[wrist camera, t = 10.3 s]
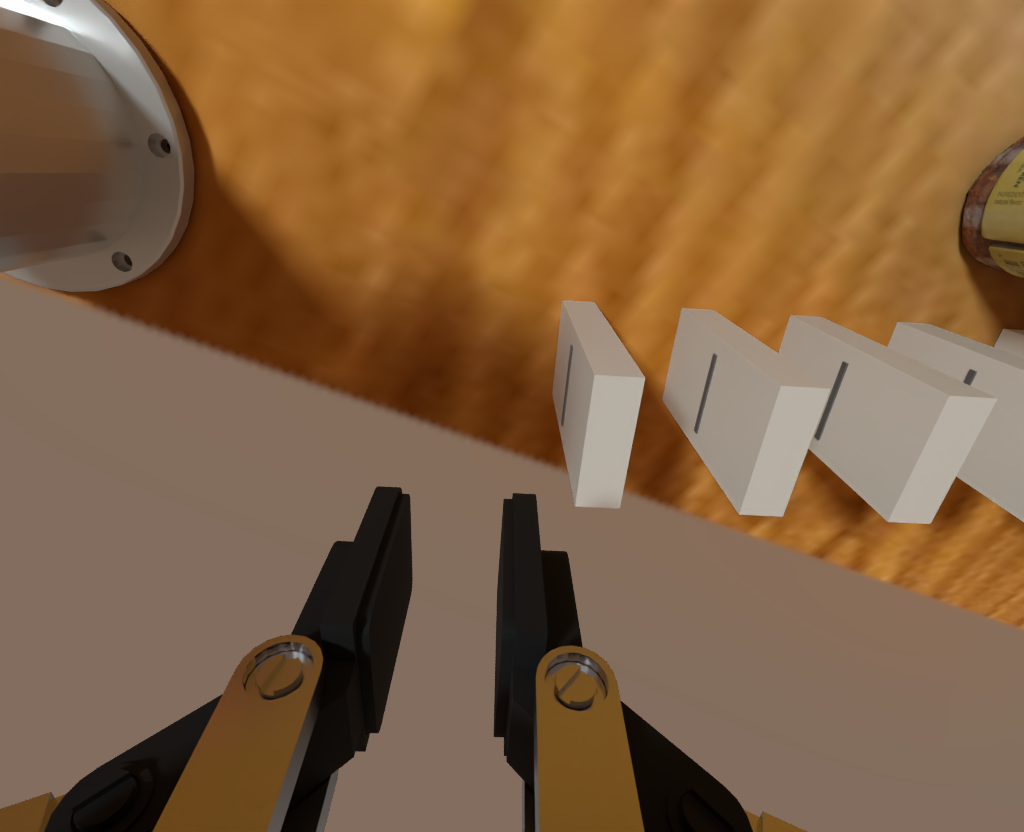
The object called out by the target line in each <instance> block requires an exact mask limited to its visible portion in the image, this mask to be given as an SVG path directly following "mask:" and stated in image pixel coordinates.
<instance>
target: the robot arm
mask: <svg viewBox="0 0 1024 832" xmlns="http://www.w3.org/2000/svg"><path fill="white" fill-rule="evenodd" d="M167 142H169V145H170V151H169V149H168V147H167ZM194 173H195V171H194V164H193V158H192V151H191V144H190V139H189V136H188V132H187V129H186V126H185V123H184V120H183V117H182V113H181V110H180V107H179V105H178V103H177V101H176V99H175V97H174V95H173V93H172V91H171V88H170V86H169V84H168V82H167V80H166V78H165V76H164V74H163V72H162V71H161V69H160V68H159V66H158V65H157V63H156V62H155V60H154V59H153V57H152V56H151V54H150V53H149V51H148V50H147V48H146V47H145V45H144V44H143V42H142V41H141V40H140V38H139V37H138V36H137V35H136V34H135V33H134V32H133V31H132V29H131V28H130V27H129V26H128V25H127V24H126V23H125V22H124V20H123V19H122V18H121V17H120V16H119V15H118V14H117V12H116V11H115V10H114V9H113V8H111V7H110V6H109V5H108V4H107V3H106V2H104V1H103V0H0V273H1V272H3V273H5V274H7V275H9V276H11V277H13V278H15V279H18V280H21V281H24V282H28V283H31V284H34V285H37V286H40V287H43V288H49V289H56V290H62V291H69V292H84V291H100V290H104V289H108V288H112V287H116V286H120V285H123V284H126V283H129V282H132V281H134V280H137V279H140V278H142V277H144V276H146V275H147V274H148V273H150V272H151V271H153V270H154V269H156V268H157V267H159V266H160V265H162V264H163V262H164V261H165V260H166V259H167V258H168V257H169V255H170V254H171V253H172V252H173V251H174V250H175V249H176V247H177V246H178V244H179V242H180V240H181V238H182V236H183V234H184V232H185V230H186V228H187V226H188V221H189V217H190V213H191V209H192V205H193V201H194ZM500 546H501V547H500V559H499V573H498V574H499V575H498V589H497V622H496V664H495V665H496V667H495V705H494V737H504V756H507V763H509V765H510V766H511V767H512V768H513V769H514V770H515V771H516V772H517V773H518V775H519V776H520V777H521V778H522V779H523V782H522V832H807V831H805V830H803V829H800V828H798V827H796V826H794V825H792V824H789V823H787V822H785V821H783V820H781V819H778V818H776V817H774V816H772V815H770V814H767V813H765V812H762V814H761V816H760V817H758V816H756V815H754V814H752V813H750V812H748V811H745V810H744V809H743V808H742V806H741V805H740V803H739V802H738V800H737V799H736V798H735V797H734V796H733V795H732V794H731V793H730V792H729V791H728V790H727V789H726V788H725V787H724V786H723V785H722V784H721V783H720V782H719V781H717V780H716V779H715V778H714V777H713V776H711V775H710V774H709V773H708V772H706V771H705V770H704V769H703V768H702V767H700V766H699V765H698V764H697V763H696V762H694V761H693V760H692V759H691V758H689V757H688V756H687V755H686V754H685V753H683V752H682V751H681V750H680V749H678V748H677V747H676V746H675V745H674V744H673V743H671V742H670V741H669V740H668V739H667V738H665V737H664V736H663V735H662V734H660V733H659V732H658V731H657V730H656V729H654V728H653V727H652V726H651V725H650V724H648V723H647V722H646V721H645V720H643V719H642V718H641V717H640V716H638V715H637V714H636V713H635V712H634V711H632V710H631V709H630V708H629V707H628V706H627V705H625V704H624V703H623V702H622V701H620V696H619V690H618V685H617V681H616V678H615V676H614V672H613V671H612V669H611V668H610V666H609V665H608V664H607V662H606V661H605V660H604V659H602V658H601V657H600V656H599V655H598V654H596V653H594V652H592V651H590V650H588V649H586V648H583V647H582V641H581V634H580V628H579V622H578V616H577V609H576V603H575V596H574V590H573V584H572V577H571V571H570V564H569V558H568V554H567V552H565V551H544V550H541V547H540V535H539V524H538V513H537V501H536V495H535V494H518V493H517V494H516V493H513V498H512V499H504V504H503V518H502V532H501V545H500ZM411 591H412V549H411V513H410V496H409V494H402V490H401V488H398V487H377V488H376V489H375V491H374V494H373V496H372V498H371V501H370V503H369V506H368V509H367V510H366V513H365V515H364V518H363V520H362V523H361V525H360V527H359V530H358V532H357V535H356V537H355V539H354V542H347V541H337V542H335V543H334V545H333V546H332V548H331V550H330V552H329V554H328V557H327V559H326V561H325V563H324V565H323V567H322V569H321V572H320V574H319V576H318V578H317V580H316V582H315V584H314V587H313V589H312V591H311V593H310V595H309V597H308V599H307V602H306V604H305V606H304V608H303V610H302V613H301V614H300V617H299V619H298V621H297V623H296V625H295V627H294V630H293V632H292V634H291V635H286V636H280V637H276V638H273V639H271V640H267V641H266V642H264V643H262V644H261V645H259V646H257V647H255V648H254V649H253V650H252V651H251V652H249V654H247V655H246V656H245V657H244V658H243V659H242V661H241V662H240V664H239V665H238V667H237V668H236V670H235V672H234V674H233V675H232V677H231V679H230V681H229V683H228V685H227V687H226V690H225V691H224V693H223V694H222V695H220V696H219V697H217V698H215V699H214V700H212V701H210V702H209V703H207V704H205V705H203V706H202V707H200V708H198V709H197V710H195V711H193V712H192V713H190V714H188V715H187V716H185V717H183V718H181V719H180V720H178V721H176V722H175V723H173V724H171V725H170V726H168V727H166V728H165V729H163V730H161V731H160V732H158V733H156V734H154V735H153V736H151V737H149V738H148V739H146V740H144V741H142V742H141V743H139V744H138V745H136V746H134V747H132V748H131V749H129V750H127V751H126V752H124V753H122V754H121V755H119V756H117V757H115V758H114V759H112V760H110V761H109V762H107V763H105V764H104V765H102V766H100V767H99V768H97V769H96V770H94V771H93V772H91V773H90V774H88V775H87V776H86V777H84V778H83V779H81V780H80V781H79V782H78V783H77V784H76V785H75V786H74V787H73V788H72V789H71V790H70V791H69V792H68V793H67V794H65V795H63V796H60V797H57V798H54V796H53V794H52V793H51V792H50V793H47V794H43V795H40V796H37V797H35V798H32V799H29V800H26V801H23V802H20V803H17V804H14V805H11V806H8V807H5V808H2V809H0V832H324V830H325V826H326V822H327V818H328V813H329V810H330V806H331V802H332V798H333V794H334V790H335V786H336V782H337V778H338V769H339V768H340V767H342V766H343V765H344V764H345V763H347V762H348V761H349V760H350V759H352V758H353V757H354V754H355V751H366V746H367V743H368V739H369V734H370V733H379V731H380V727H381V724H382V719H383V714H384V711H385V706H386V702H387V697H388V693H389V688H390V684H391V680H392V676H393V671H394V667H395V662H396V658H397V654H398V649H399V645H400V641H401V636H402V632H403V627H404V623H405V619H406V614H407V610H408V605H409V601H410V596H411Z"/></svg>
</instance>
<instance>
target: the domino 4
mask: <svg viewBox="0 0 1024 832" xmlns="http://www.w3.org/2000/svg"><path fill="white" fill-rule="evenodd" d="M887 347H888V348H890V349H892V350H894V351H896V352H899V353H901V354H903V355H905V356H907V357H909V358H911V359H914V360H916V361H918V362H920V363H922V364H924V365H927V366H929V367H931V368H933V369H935V370H937V371H939V372H942V373H944V374H946V375H948V376H950V377H952V378H955V379H957V380H959V381H961V382H963V383H965V384H968V385H970V386H972V387H974V388H976V389H978V390H980V391H983V392H985V393H987V394H989V395H991V396H993V397H996V398H998V399H997V401H996V403H995V405H994V407H993V409H992V410H991V412H990V414H989V416H988V418H987V420H986V422H985V423H984V425H983V427H982V429H981V431H980V433H979V435H978V437H977V438H976V440H975V442H974V444H973V446H972V448H971V450H970V451H969V453H968V455H967V457H966V459H965V461H964V463H963V464H962V466H961V468H960V470H959V472H958V474H957V476H956V477H958V478H959V479H961V480H962V481H964V482H965V483H967V484H968V485H970V486H971V487H972V488H974V489H975V490H977V491H978V492H980V493H981V494H983V495H984V496H986V497H987V498H989V499H990V500H992V501H993V502H995V503H996V504H997V505H999V506H1000V507H1002V508H1003V509H1005V510H1006V511H1008V512H1009V513H1011V514H1012V515H1014V516H1015V517H1017V518H1018V519H1019V520H1021V521H1022V522H1024V358H1021V357H1019V356H1016V355H1013V354H1010V353H1008V352H1005V351H1002V350H999V349H997V348H994V347H991V346H988V345H986V344H983V343H980V342H977V341H974V340H972V339H969V338H966V337H963V336H961V335H958V334H955V333H952V332H950V331H947V330H944V329H941V328H939V327H936V326H933V325H930V324H924V323H908V322H897V325H896V327H895V329H894V332H893V334H892V337H891V339H890V342H889V344H888V346H887Z"/></svg>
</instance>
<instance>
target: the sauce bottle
mask: <svg viewBox="0 0 1024 832" xmlns="http://www.w3.org/2000/svg"><path fill="white" fill-rule="evenodd" d="M962 237H963V243H964V245H965V247H966V249H967V250H968V252H969V253H970V255H972V256H973V257H974V258H975V260H978V261H980V262H982V263H984V264H986V265H987V266H989V267H992V268H994V269H996V270H998V271H1005V272H1008V273H1010V274H1012V275H1015V276H1018V277H1023V278H1024V137H1023V138H1021V139H1020V140H1018V141H1017V142H1016V143H1014V144H1013V145H1011V146H1010V147H1009V148H1007V149H1006V150H1005V151H1004V152H1002V153H1001V154H1000V155H998V156H997V157H996V158H995V160H994V161H992V163H991V164H990V165H989V166H987V167H986V168H985V169H984V170H983V171H982V174H981V175H980V176H979V177H978V179H977V180H976V181H975V182H974V184H973V185H972V187H971V188H970V189H969V191H968V197H967V200H966V203H965V207H964V213H963V224H962Z"/></svg>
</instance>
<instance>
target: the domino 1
mask: <svg viewBox="0 0 1024 832" xmlns="http://www.w3.org/2000/svg"><path fill="white" fill-rule="evenodd" d="M644 382H645V377H644V375H643V374H642V372H641V371H640V369H639V368H638V366H637V365H636V363H635V362H634V360H633V359H632V357H631V356H630V354H629V353H628V351H627V350H626V348H625V347H624V345H623V344H622V342H621V341H620V339H619V338H618V336H617V335H616V333H615V332H614V330H613V329H612V327H611V326H610V324H609V323H608V321H607V320H606V318H605V317H604V315H603V314H602V312H601V311H600V309H599V308H598V306H597V305H596V303H595V302H582V301H566V300H562V308H561V317H560V326H559V336H558V345H557V354H556V363H555V372H554V381H553V390H552V396H553V401H554V406H555V410H556V415H557V420H558V425H559V430H560V435H561V440H562V445H563V450H564V455H565V460H566V464H567V469H568V474H569V479H570V484H571V488H572V494H573V499H574V504H575V506H578V507H597V508H618V509H619V508H620V505H621V499H622V494H623V489H624V484H625V479H626V474H627V469H628V464H629V459H630V454H631V449H632V444H633V438H634V433H635V428H636V423H637V418H638V413H639V408H640V403H641V398H642V393H643V388H644Z"/></svg>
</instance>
